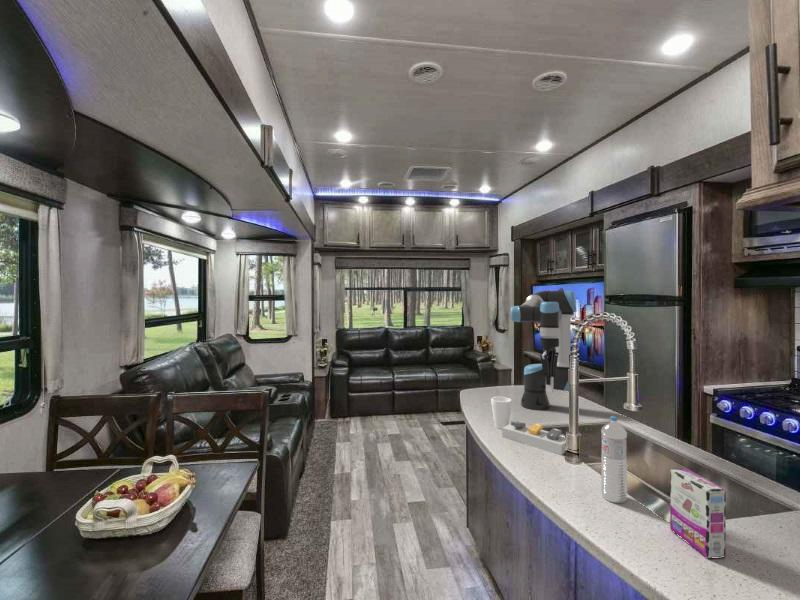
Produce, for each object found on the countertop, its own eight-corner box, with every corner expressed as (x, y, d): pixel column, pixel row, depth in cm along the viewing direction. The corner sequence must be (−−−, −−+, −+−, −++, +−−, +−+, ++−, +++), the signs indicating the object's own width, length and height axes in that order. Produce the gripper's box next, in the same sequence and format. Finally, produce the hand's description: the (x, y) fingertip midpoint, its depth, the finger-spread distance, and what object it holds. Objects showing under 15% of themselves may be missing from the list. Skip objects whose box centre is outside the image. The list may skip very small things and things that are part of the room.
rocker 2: (553, 430, 154) (552, 427, 154) (561, 433, 151) (561, 429, 151) (546, 437, 150) (546, 434, 150) (555, 440, 147) (555, 436, 147)
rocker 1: (517, 424, 165) (518, 421, 166) (525, 426, 163) (525, 423, 163) (510, 425, 161) (511, 421, 161) (518, 427, 159) (518, 423, 159)
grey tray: (513, 430, 169) (513, 420, 169) (592, 453, 145) (592, 441, 144) (502, 436, 162) (502, 426, 162) (583, 461, 138) (582, 449, 138)
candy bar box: (727, 558, 87) (727, 489, 87) (707, 560, 86) (707, 490, 86) (686, 528, 98) (686, 467, 98) (669, 529, 98) (669, 468, 97)
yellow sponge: (535, 426, 160) (534, 423, 159) (543, 428, 157) (542, 425, 157) (528, 432, 156) (528, 429, 155) (536, 434, 153) (536, 431, 153)
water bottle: (626, 506, 108) (626, 422, 108) (600, 500, 112) (600, 418, 112) (627, 496, 114) (627, 415, 114) (601, 490, 118) (601, 412, 117)
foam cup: (509, 423, 179) (509, 396, 179) (513, 430, 170) (513, 402, 170) (489, 423, 180) (489, 396, 180) (492, 429, 171) (492, 401, 171)
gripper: (548, 335, 167) (548, 388, 166) (534, 337, 158) (534, 392, 157) (564, 337, 161) (564, 391, 161) (551, 338, 152) (551, 396, 152)
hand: (549, 391), depth 159 cm, fingers closed
